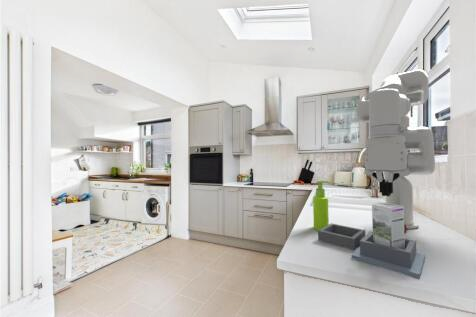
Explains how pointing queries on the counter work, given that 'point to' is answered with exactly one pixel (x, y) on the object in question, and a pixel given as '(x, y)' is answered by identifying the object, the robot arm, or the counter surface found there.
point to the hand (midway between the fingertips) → (386, 195)
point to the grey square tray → (341, 236)
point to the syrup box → (388, 225)
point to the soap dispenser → (320, 207)
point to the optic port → (391, 256)
